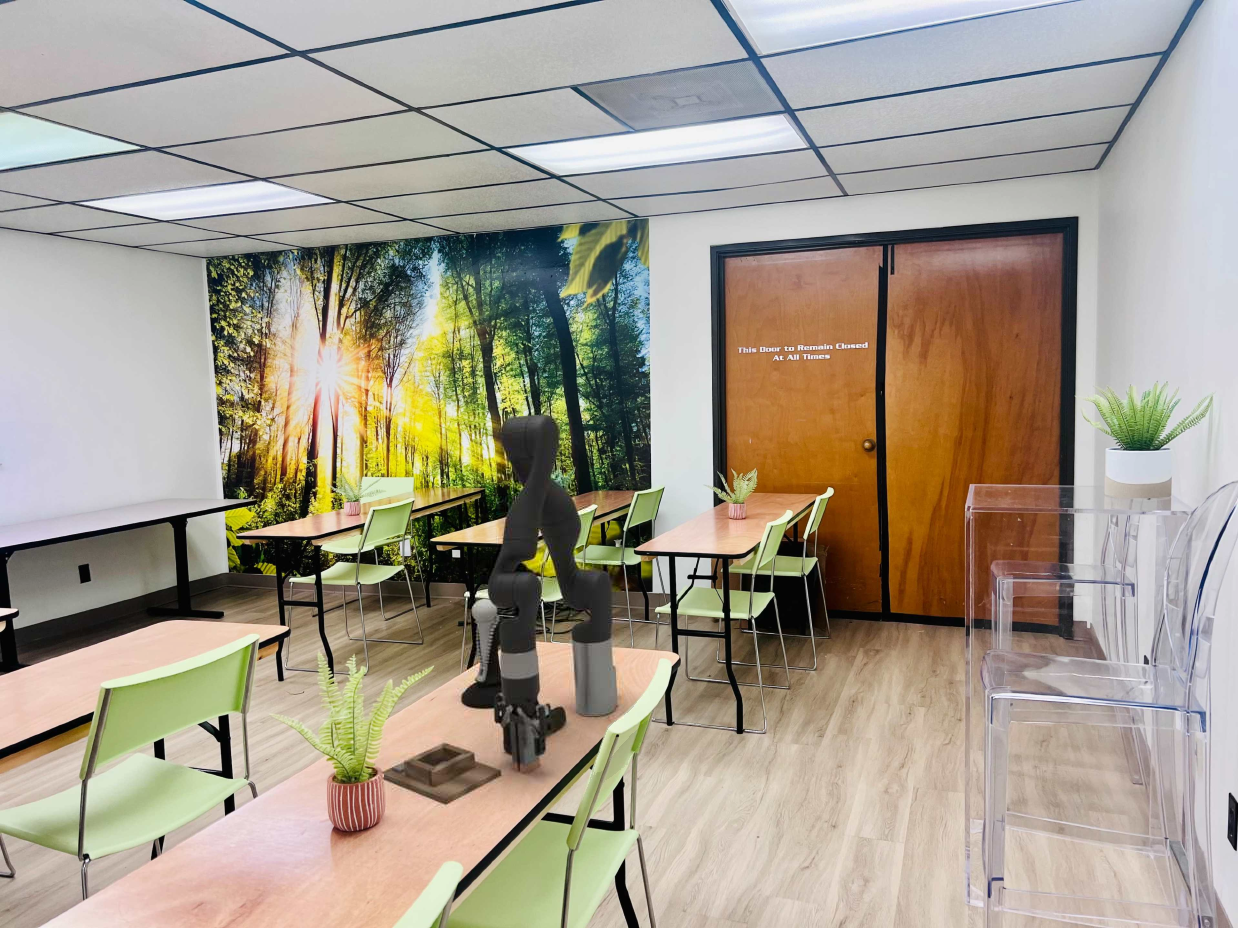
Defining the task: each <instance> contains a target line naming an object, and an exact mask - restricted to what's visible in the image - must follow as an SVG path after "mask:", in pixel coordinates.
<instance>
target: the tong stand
mask: <svg viewBox="0 0 1238 928" xmlns="http://www.w3.org/2000/svg"><path fill="white" fill-rule="evenodd" d="M475 758H476V757H475V752H473V751H472V750H471V751H470V750H467V749H465V748H461V747H459V746H455V745H453V744H449V743H446V742H442V743H441V744H438V745H436V746H433V747H431V748H429V749H426V750H424V751H423V752H421V753H418V754H417V755H414V756H412V757H409V758H408V759H405V760H404V761H402V762H400V763H398V764H396V765H394V766H391V767H389V768H387V769H385V770H384V771H381V772H382V773H383V774H384V778H385V779H384V780H385V781H388V782H390V783H393V784H396V785H398V786H401V787H403V788H405V789H408V790H411V791H413V792H415V793H418V794H421V795H422V796H425V797H428V798H430V799H433V800H434V801H438V802H440V803H442V804H444V805H447V804H449V803H451V802H452V801H455V800H457V799H459V798H460V797H462V796H464V795H466V794H469V792H472V791H474V790H475V789H477V788H479V787H481V786H483V785H485V784H487V783H489V782H491V781H493V780H495V779H496V778H498V777H500V776H502V770H501V769H499V768H497V767H493V766H491V765H487V764H485V763H481V762H479V761H477V760H476V759H475Z"/></svg>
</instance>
